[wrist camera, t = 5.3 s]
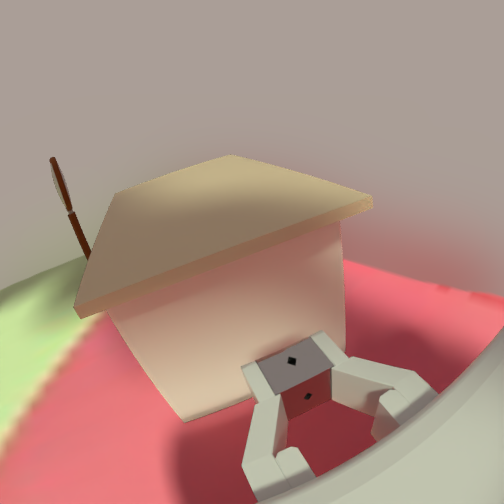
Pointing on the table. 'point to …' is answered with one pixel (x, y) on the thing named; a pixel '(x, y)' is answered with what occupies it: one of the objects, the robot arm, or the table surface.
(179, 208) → the lid flap
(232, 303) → the carton
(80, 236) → the magnifying glass
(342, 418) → the table surface
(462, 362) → the table surface
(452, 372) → the table surface
